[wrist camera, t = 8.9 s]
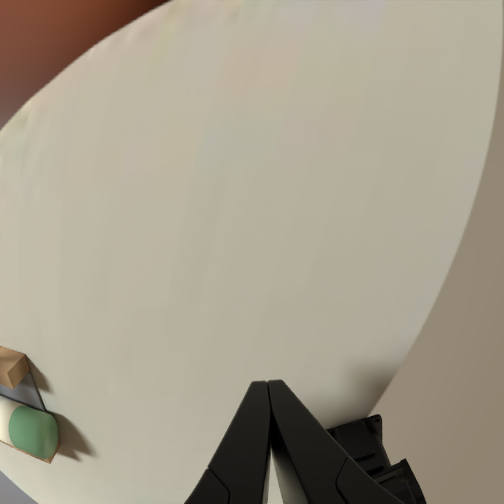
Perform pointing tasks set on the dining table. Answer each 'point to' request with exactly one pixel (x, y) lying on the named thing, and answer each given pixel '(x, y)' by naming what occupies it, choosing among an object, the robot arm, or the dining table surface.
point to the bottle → (27, 428)
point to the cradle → (19, 385)
